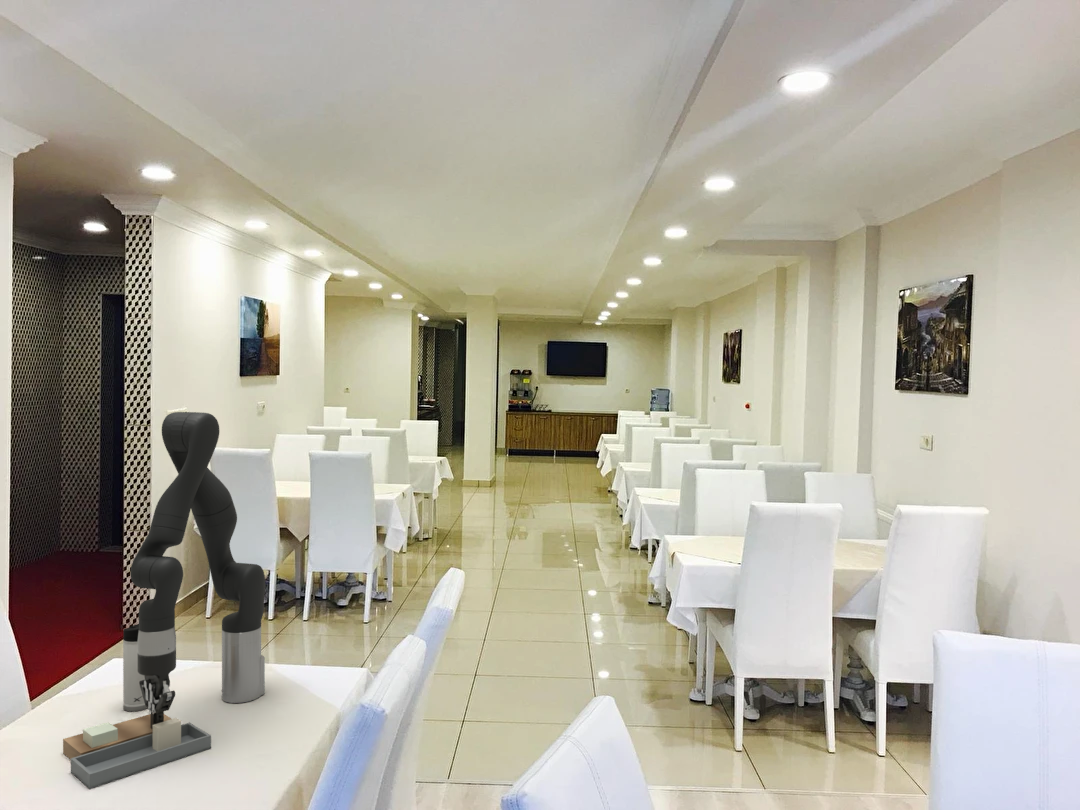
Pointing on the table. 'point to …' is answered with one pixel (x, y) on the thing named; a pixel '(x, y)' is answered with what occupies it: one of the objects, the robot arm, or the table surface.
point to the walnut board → (125, 733)
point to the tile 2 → (166, 734)
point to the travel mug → (131, 671)
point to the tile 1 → (100, 734)
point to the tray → (135, 757)
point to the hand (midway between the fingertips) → (157, 728)
